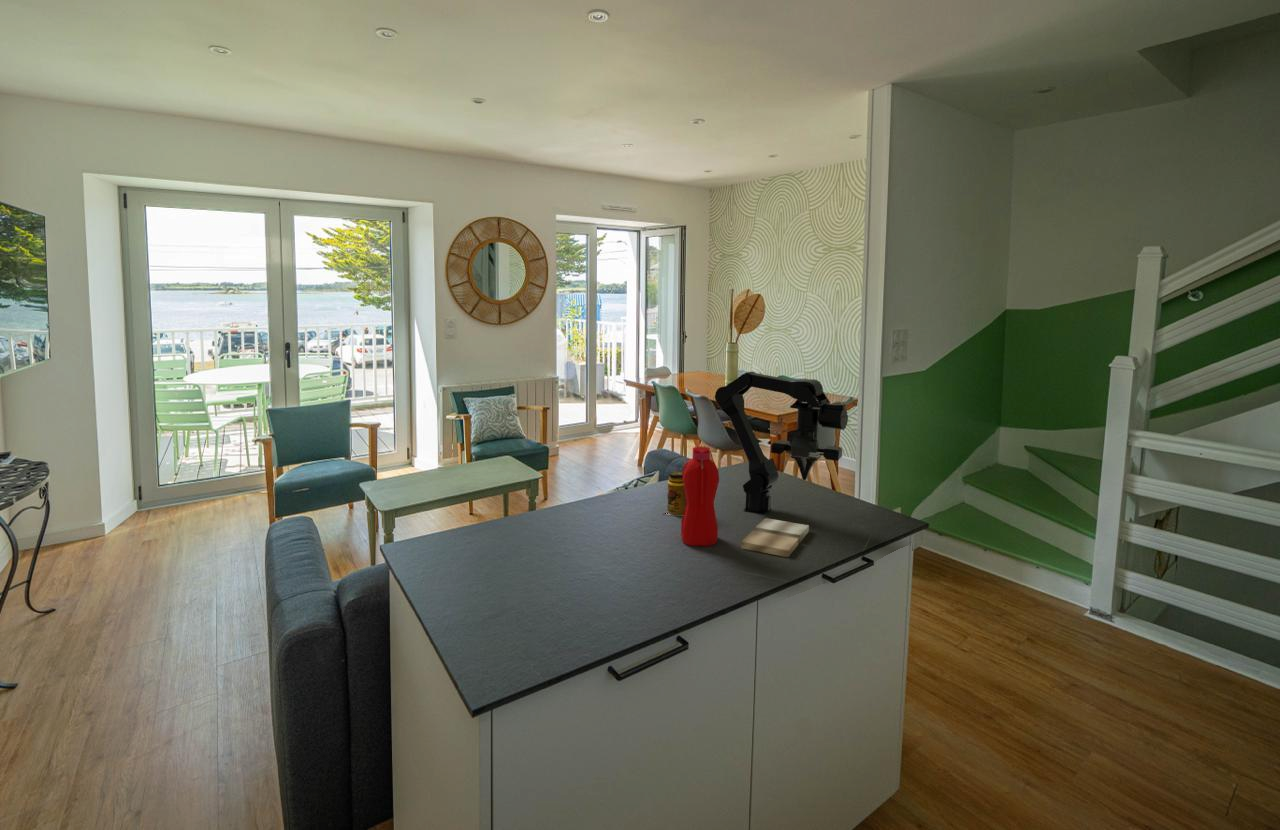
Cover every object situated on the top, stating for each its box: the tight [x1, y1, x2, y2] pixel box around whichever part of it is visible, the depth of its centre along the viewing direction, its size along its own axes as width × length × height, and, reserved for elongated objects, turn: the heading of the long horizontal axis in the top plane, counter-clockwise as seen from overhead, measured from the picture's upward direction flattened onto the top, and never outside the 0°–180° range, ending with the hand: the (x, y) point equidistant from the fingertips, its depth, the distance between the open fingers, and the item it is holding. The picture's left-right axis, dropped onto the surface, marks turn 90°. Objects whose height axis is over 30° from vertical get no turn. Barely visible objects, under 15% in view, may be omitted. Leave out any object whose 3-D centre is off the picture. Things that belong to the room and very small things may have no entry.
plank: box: [755, 517, 810, 543], centre depth 174 cm, size 12×9×2 cm
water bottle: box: [680, 446, 720, 547], centre depth 166 cm, size 9×11×25 cm
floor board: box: [740, 529, 800, 558], centre depth 165 cm, size 12×10×2 cm
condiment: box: [665, 470, 686, 517], centre depth 191 cm, size 7×8×12 cm
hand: (804, 479), depth 183 cm, fingers closed
